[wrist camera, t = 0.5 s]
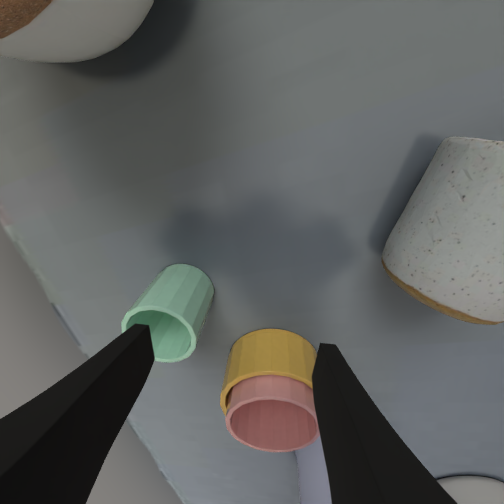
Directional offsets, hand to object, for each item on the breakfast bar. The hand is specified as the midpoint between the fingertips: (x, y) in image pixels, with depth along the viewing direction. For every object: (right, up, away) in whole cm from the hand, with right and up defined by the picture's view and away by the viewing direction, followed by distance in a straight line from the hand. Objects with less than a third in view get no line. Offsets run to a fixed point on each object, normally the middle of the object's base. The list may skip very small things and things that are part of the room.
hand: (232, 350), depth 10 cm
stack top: (+3, -7, +14) cm, 16 cm away
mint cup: (-5, +1, +11) cm, 12 cm away
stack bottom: (+3, -7, +14) cm, 16 cm away
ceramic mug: (+15, +7, +6) cm, 18 cm away
